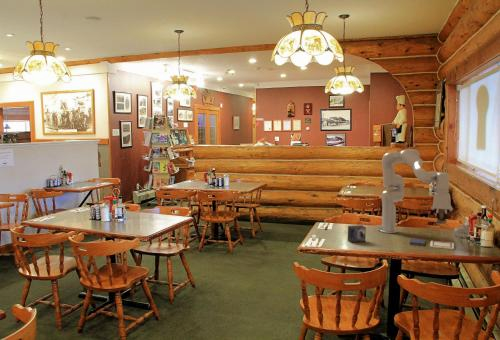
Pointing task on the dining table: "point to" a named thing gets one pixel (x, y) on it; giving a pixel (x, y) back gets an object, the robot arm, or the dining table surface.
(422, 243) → the ink pad
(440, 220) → the stamp
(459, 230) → the pig figurine
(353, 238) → the small box
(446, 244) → the marked board
